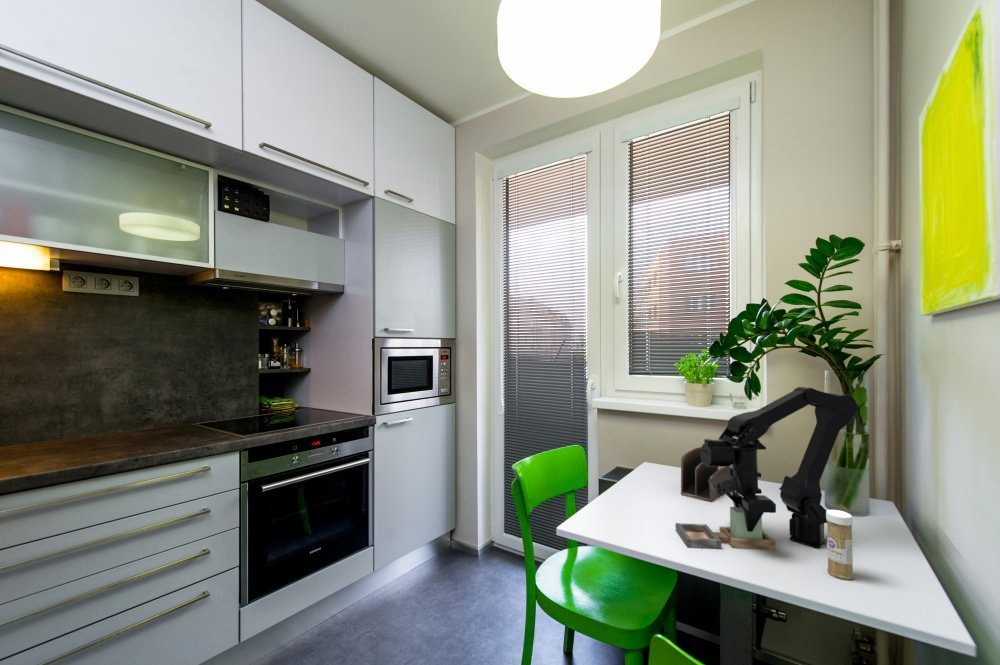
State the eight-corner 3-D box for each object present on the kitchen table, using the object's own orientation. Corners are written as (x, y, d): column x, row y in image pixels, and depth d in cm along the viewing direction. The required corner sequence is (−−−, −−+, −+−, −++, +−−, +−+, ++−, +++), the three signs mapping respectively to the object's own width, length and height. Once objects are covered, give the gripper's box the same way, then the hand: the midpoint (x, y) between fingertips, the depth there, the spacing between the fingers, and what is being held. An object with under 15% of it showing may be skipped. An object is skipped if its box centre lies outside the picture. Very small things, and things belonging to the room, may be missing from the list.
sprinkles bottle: (822, 572, 95) (821, 510, 96) (835, 568, 97) (834, 507, 98) (846, 582, 91) (844, 518, 92) (859, 578, 93) (857, 514, 93)
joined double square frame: (757, 534, 115) (757, 526, 115) (777, 551, 105) (777, 543, 105) (675, 530, 117) (675, 523, 117) (687, 547, 107) (687, 539, 107)
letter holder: (680, 495, 146) (679, 453, 146) (703, 482, 159) (702, 444, 160) (711, 503, 139) (710, 458, 139) (732, 489, 152) (731, 448, 153)
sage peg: (754, 539, 112) (754, 507, 112) (762, 546, 108) (761, 513, 108) (730, 537, 113) (729, 506, 113) (737, 544, 109) (736, 512, 109)
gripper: (699, 456, 121) (700, 512, 121) (726, 475, 103) (727, 542, 102) (741, 457, 120) (742, 514, 119) (776, 477, 102) (778, 544, 101)
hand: (745, 527), depth 111 cm, fingers closed on sage peg, 4 cm apart
